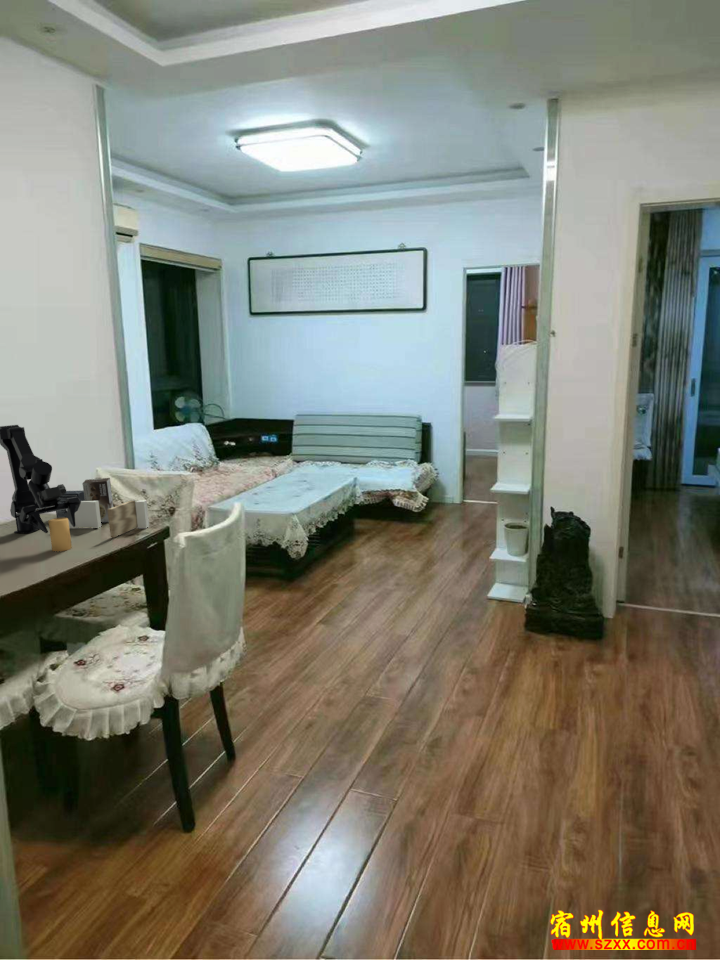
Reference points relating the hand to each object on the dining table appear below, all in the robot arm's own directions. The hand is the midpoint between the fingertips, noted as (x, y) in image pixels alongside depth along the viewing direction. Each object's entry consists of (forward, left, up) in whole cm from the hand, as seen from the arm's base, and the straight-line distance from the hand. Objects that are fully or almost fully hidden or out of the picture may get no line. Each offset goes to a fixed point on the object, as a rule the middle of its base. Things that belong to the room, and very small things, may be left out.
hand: (61, 529), depth 220 cm
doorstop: (-1, +1, -7) cm, 7 cm away
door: (+10, +21, -7) cm, 24 cm away
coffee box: (-9, +36, -7) cm, 37 cm away
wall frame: (0, +27, -7) cm, 28 cm away
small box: (-24, +40, -7) cm, 47 cm away
